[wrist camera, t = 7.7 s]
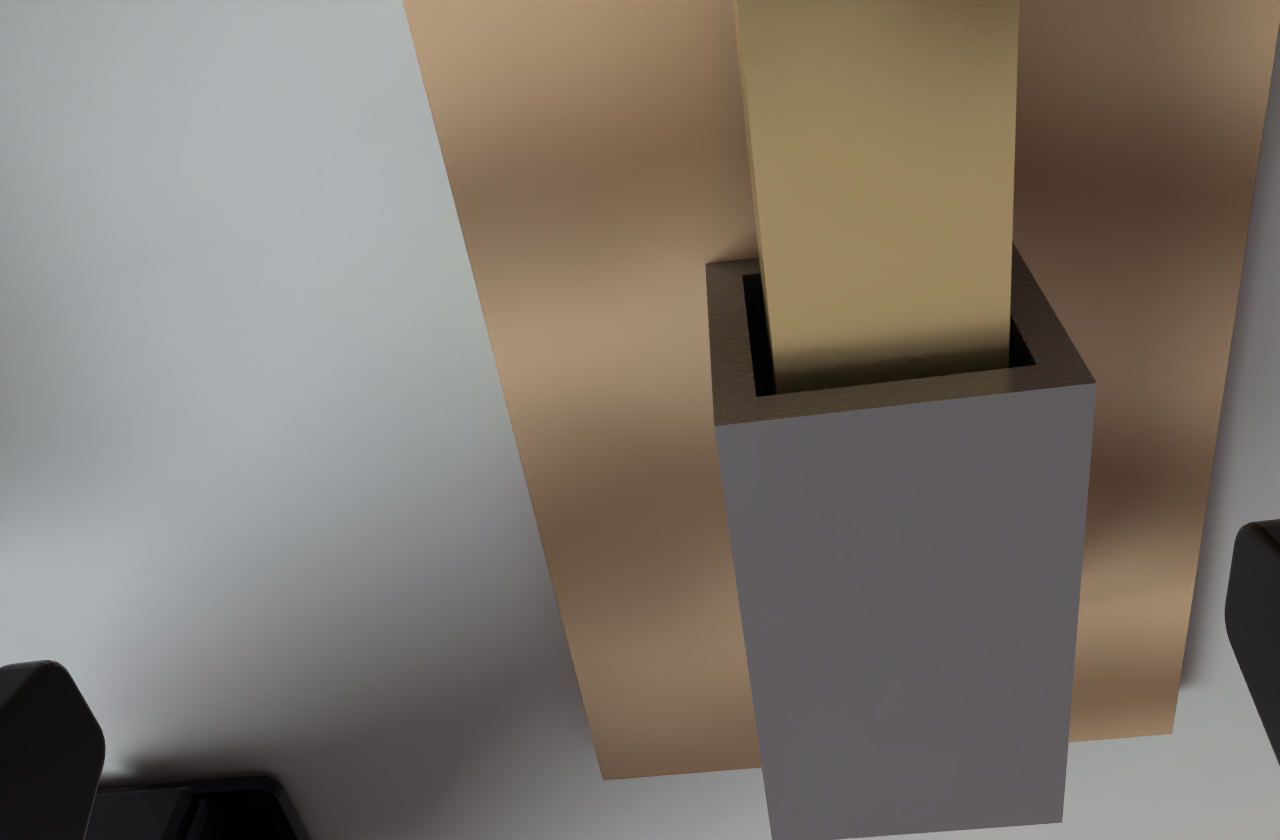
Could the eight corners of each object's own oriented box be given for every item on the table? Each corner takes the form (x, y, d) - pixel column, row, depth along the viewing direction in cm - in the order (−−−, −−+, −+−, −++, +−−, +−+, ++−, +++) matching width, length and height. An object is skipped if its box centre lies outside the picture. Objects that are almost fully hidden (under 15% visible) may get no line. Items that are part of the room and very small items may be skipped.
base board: (1156, 700, 26) (1172, 733, 26) (605, 746, 28) (603, 780, 27) (1425, -1263, 11) (1485, -1337, 10) (181, -950, 13) (146, -995, 12)
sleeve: (993, 620, 24) (1062, 822, 20) (755, 642, 24) (773, 844, 20) (1003, 225, 19) (1096, 383, 15) (705, 264, 19) (714, 425, 15)
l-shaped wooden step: (959, 511, 21) (1107, 943, 14) (786, 528, 21) (844, 960, 14) (961, -747, 12) (1393, -1369, 5) (661, -681, 12) (644, -1171, 5)
